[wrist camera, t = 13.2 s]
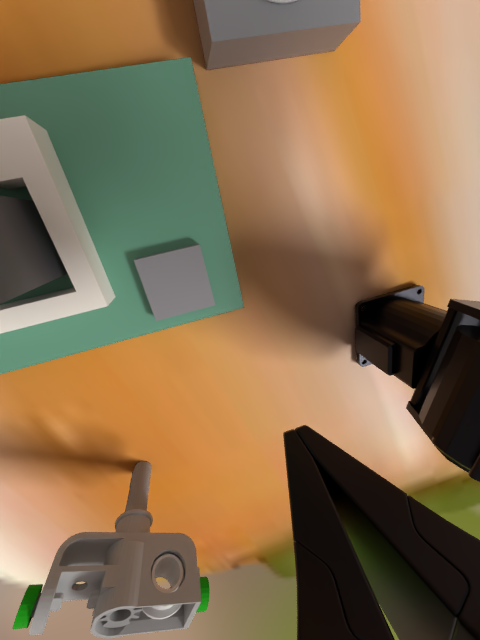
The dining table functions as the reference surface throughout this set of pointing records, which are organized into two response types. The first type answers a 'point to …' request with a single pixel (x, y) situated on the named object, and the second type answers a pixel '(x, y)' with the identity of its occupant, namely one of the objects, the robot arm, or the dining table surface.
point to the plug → (25, 249)
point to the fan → (271, 28)
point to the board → (114, 208)
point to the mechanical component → (123, 575)
